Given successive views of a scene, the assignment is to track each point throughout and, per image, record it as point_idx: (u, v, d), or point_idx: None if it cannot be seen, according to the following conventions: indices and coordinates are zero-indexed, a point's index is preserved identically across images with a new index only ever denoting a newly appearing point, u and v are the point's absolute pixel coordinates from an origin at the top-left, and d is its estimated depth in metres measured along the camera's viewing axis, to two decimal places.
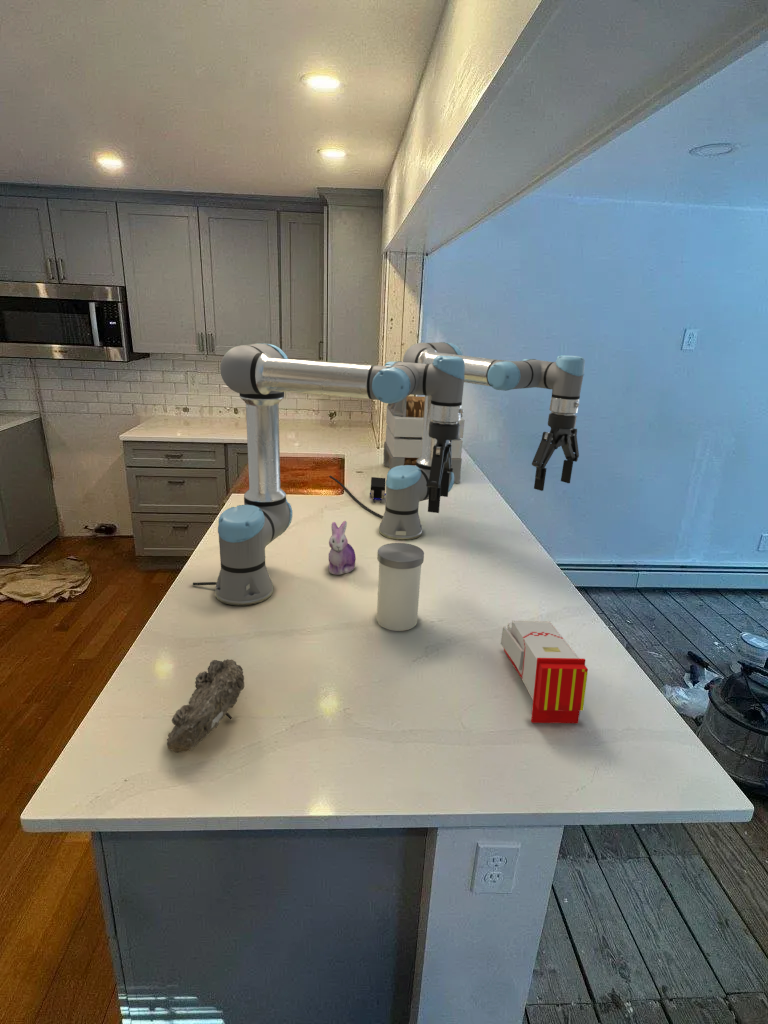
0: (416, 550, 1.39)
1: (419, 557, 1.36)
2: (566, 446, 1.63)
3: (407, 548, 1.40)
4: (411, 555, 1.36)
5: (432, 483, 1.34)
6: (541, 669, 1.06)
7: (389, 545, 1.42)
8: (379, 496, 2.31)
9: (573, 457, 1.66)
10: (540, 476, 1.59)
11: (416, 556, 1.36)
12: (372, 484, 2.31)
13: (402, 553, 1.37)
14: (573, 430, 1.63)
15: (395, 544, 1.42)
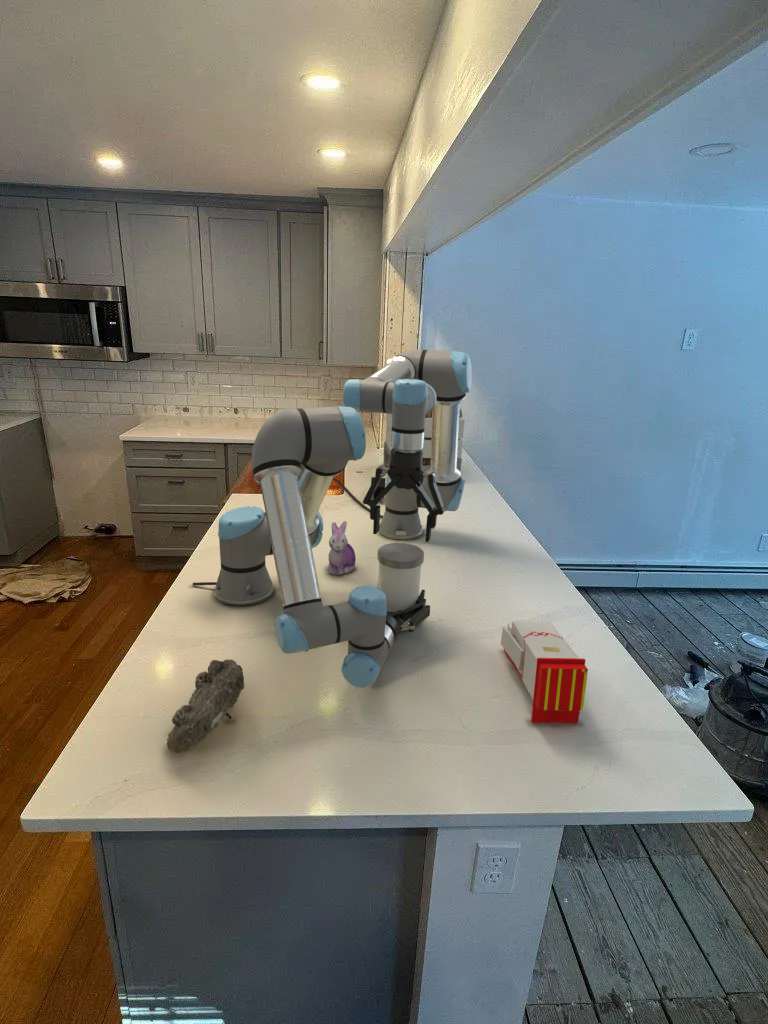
0: (416, 550, 1.39)
1: (419, 557, 1.36)
2: (392, 487, 1.34)
3: (407, 548, 1.40)
4: (411, 555, 1.36)
5: None
6: (541, 669, 1.06)
7: (389, 545, 1.42)
8: None
9: None
10: None
11: (416, 556, 1.36)
12: None
13: (402, 553, 1.37)
14: None
15: (395, 544, 1.42)
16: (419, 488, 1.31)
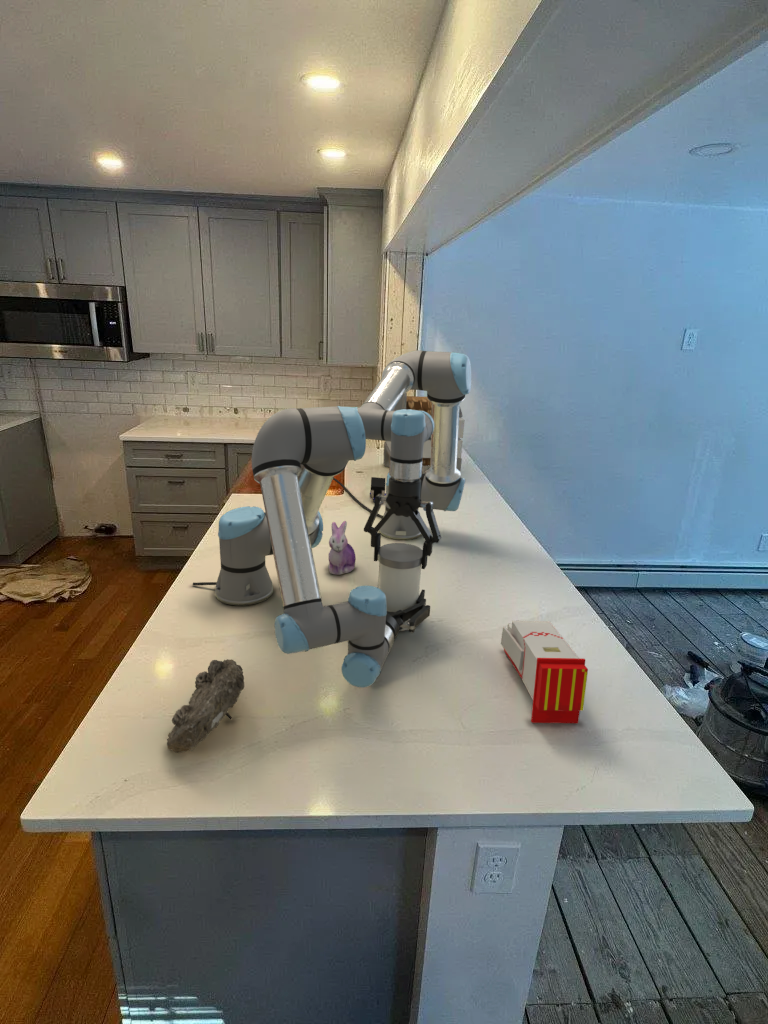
0: (416, 550, 1.39)
1: (419, 557, 1.36)
2: None
3: (407, 548, 1.40)
4: (411, 555, 1.36)
5: None
6: (541, 669, 1.06)
7: (389, 545, 1.42)
8: None
9: None
10: None
11: (416, 556, 1.36)
12: (372, 484, 2.31)
13: (402, 553, 1.37)
14: (381, 496, 1.36)
15: (395, 544, 1.42)
16: (417, 516, 1.33)
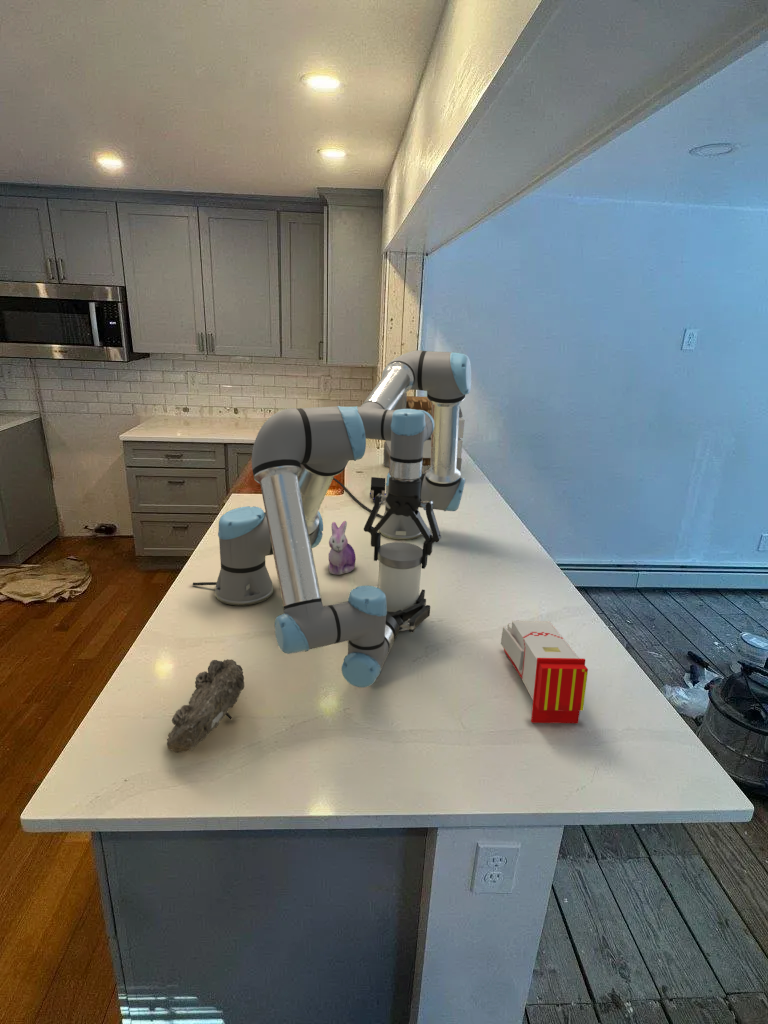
0: (388, 546, 1.41)
1: (402, 542, 1.43)
2: None
3: (389, 549, 1.39)
4: (402, 546, 1.41)
5: None
6: (541, 669, 1.06)
7: (393, 557, 1.34)
8: None
9: None
10: None
11: (401, 544, 1.42)
12: (372, 484, 2.31)
13: (403, 550, 1.39)
14: None
15: (387, 556, 1.35)
16: (417, 516, 1.33)
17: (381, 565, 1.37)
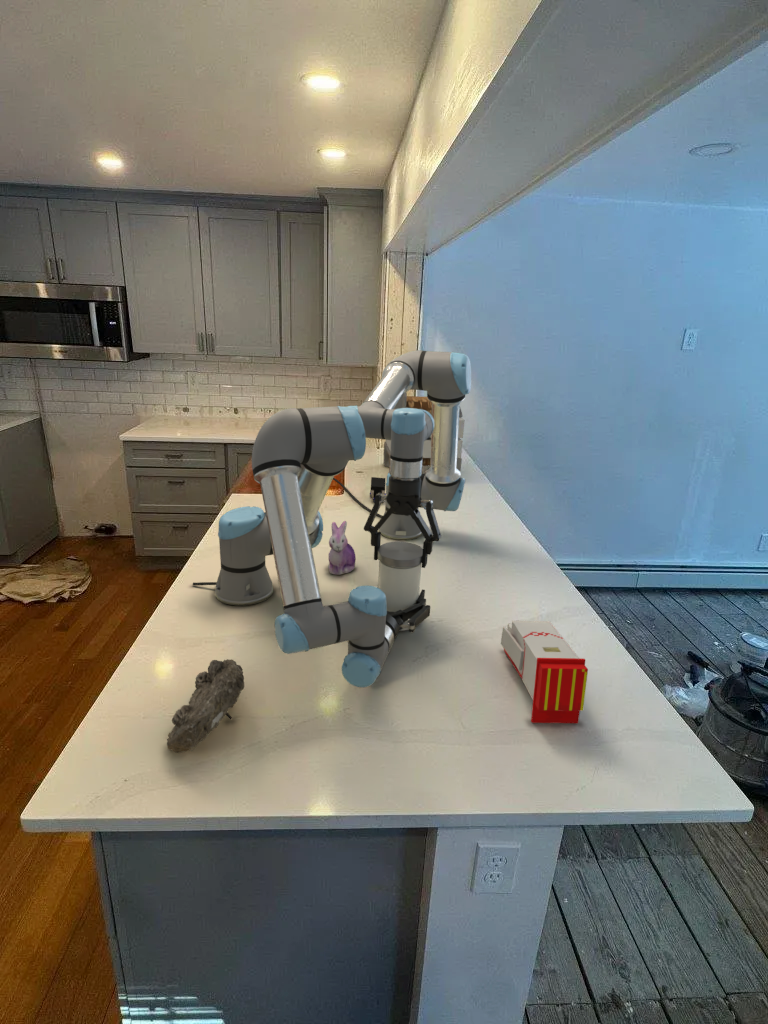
0: (396, 556, 1.34)
1: (381, 552, 1.36)
2: None
3: (405, 555, 1.36)
4: (388, 551, 1.37)
5: None
6: (541, 669, 1.06)
7: (419, 550, 1.38)
8: None
9: None
10: None
11: (384, 552, 1.36)
12: (372, 484, 2.31)
13: (397, 549, 1.38)
14: None
15: (419, 553, 1.37)
16: (417, 515, 1.33)
17: (381, 565, 1.37)
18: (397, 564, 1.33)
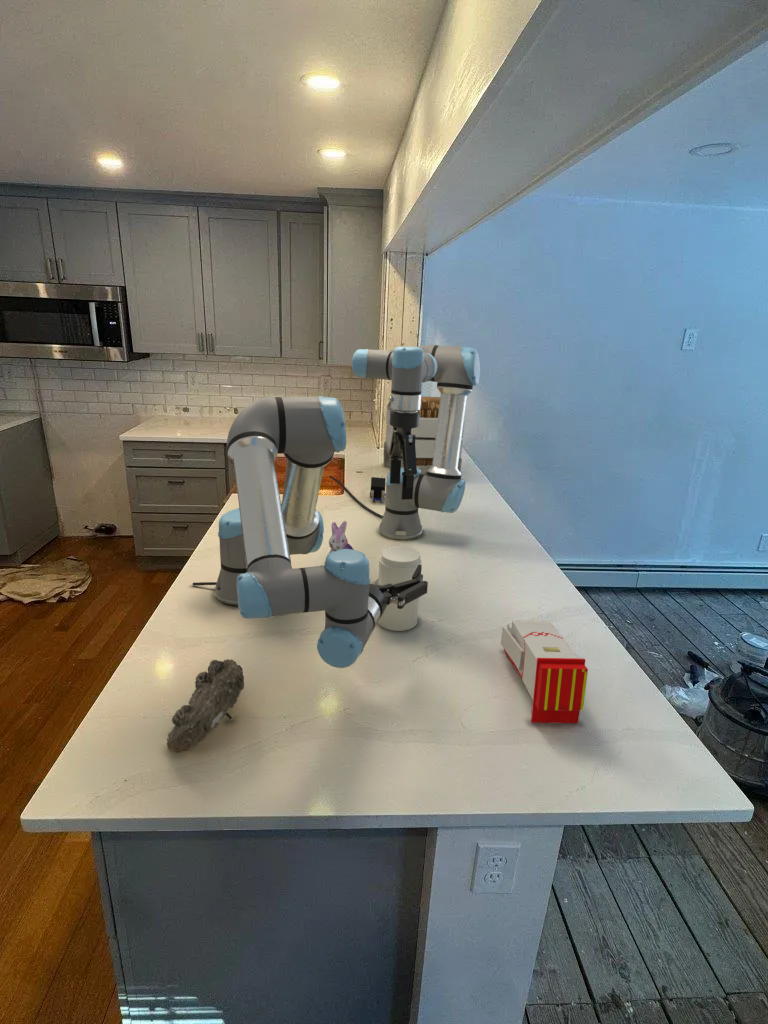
0: None
1: None
2: None
3: None
4: None
5: None
6: (541, 669, 1.06)
7: None
8: (379, 496, 2.31)
9: (404, 469, 1.41)
10: None
11: None
12: (372, 484, 2.31)
13: None
14: None
15: None
16: None
17: (381, 565, 1.37)
18: None
